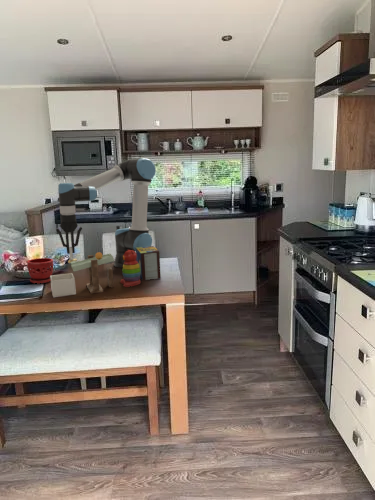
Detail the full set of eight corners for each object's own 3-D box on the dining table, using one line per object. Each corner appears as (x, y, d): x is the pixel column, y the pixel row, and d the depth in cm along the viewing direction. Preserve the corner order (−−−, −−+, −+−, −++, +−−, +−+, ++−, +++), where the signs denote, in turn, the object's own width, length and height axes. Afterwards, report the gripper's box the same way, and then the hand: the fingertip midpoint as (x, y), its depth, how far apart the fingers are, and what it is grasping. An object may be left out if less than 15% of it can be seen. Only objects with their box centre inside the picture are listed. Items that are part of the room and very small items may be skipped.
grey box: (73, 288, 193) (72, 273, 191) (76, 294, 183) (74, 278, 181) (51, 291, 189) (50, 275, 187) (52, 297, 179) (51, 281, 178)
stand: (109, 282, 202) (107, 252, 198) (115, 290, 188) (113, 258, 185) (86, 285, 197) (84, 255, 194) (90, 293, 184) (88, 261, 180)
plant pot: (47, 285, 199) (44, 263, 196) (24, 284, 201) (21, 262, 199) (59, 278, 211) (57, 257, 209) (37, 277, 214) (35, 257, 211)
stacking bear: (119, 282, 201) (117, 249, 198) (137, 279, 205) (136, 247, 202) (124, 287, 192) (122, 253, 188) (143, 284, 196) (142, 251, 192)
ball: (98, 250, 190) (93, 255, 190) (99, 251, 187) (94, 256, 187) (103, 254, 192) (98, 259, 191) (104, 256, 189) (99, 261, 188)
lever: (107, 255, 205) (106, 249, 204) (114, 263, 189) (113, 256, 188) (68, 265, 198) (67, 259, 198) (72, 274, 182) (70, 267, 181)
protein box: (154, 271, 220) (153, 245, 217) (160, 278, 205) (159, 251, 202) (136, 273, 217) (135, 247, 213) (141, 281, 202) (140, 252, 199)
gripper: (80, 212, 197) (83, 256, 202) (54, 214, 192) (57, 259, 197) (82, 214, 190) (85, 259, 195) (54, 215, 186) (58, 262, 190)
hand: (71, 259), depth 196 cm, fingers closed
